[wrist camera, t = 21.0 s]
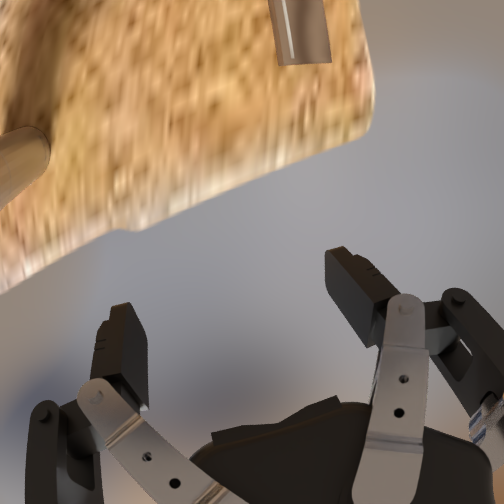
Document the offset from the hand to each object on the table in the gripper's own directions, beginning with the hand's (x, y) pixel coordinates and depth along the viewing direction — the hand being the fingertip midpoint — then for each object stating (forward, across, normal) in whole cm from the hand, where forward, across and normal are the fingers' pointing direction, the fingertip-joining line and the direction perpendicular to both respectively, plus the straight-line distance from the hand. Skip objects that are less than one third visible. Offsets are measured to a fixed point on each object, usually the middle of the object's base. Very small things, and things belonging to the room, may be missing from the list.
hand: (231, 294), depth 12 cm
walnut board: (+38, -20, -24) cm, 49 cm away
